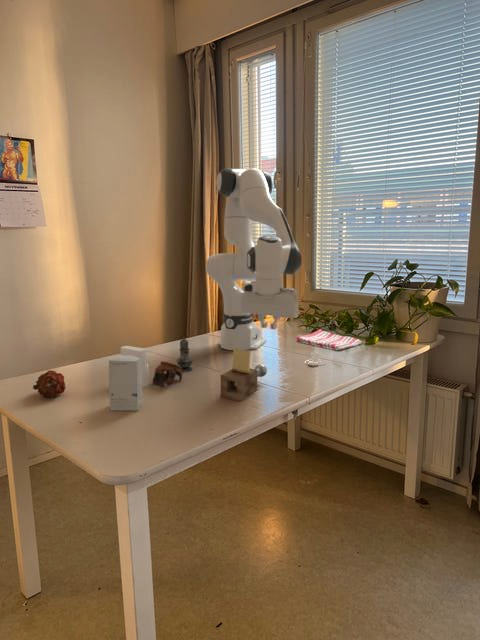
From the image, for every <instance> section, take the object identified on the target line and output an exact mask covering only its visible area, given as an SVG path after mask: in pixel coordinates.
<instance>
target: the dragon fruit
mask: <svg viewBox="0 0 480 640" xmlns="http://www.w3.org/2000/svg"><path fill="white" fill-rule="evenodd" d="M37 379H38V380H36V381H35V383H36V384H33V385H32V389H34V390H35V391H37V393H38V394H39V395H40V396H42V397H44V398H45V397H48V398H51V399H52V398H53V399H55V398H57V396H59V395H60V394H63V393H64V392H65V389H66V388H67V387H66V382H65V376H64V375H63V374H62V373H60V372H58V373H57V371H55V370H51V369H50V370H47V371H46V372H45V373H41V374H40V376H38V378H37Z"/></svg>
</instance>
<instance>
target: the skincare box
mask: <svg viewBox="0 0 480 640" xmlns="http://www.w3.org/2000/svg"><path fill="white" fill-rule="evenodd" d="M108 388H109V390H108V391H109V394H108V395H109V396H108V397H109V410H110V411H112V412H113V411H114V412H115V411H123V412H124V411H126V412H127V411H135V412H137V411H139V410H140V407H141V406H142V404H143V395H142V393H143V390H142V388H143V387H142V373H141V356H130V355H121V354H120V355H119V354H118V355H117V354H116V355H112V357H110V358H109V359H108Z"/></svg>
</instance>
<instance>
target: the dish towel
mask: <svg viewBox="0 0 480 640" xmlns="http://www.w3.org/2000/svg"><path fill="white" fill-rule="evenodd" d="M295 338H296V341H297V343H303V344H306V345H310V346H315V347H320V348H322V349H326V348H327V350H331V351H337V352H338V351H342V350H346V348H347V349H350V348H354V347H357V346H359V344H360V345H361V343H362V344H363V341H362V340H360V339H358V338H355V337H352V336H347V335H346V336H344V335H343V336H342V335H338V334H333V333H331V332H328V331H326V330H322V329H321V328H320V329H318V330H317V331H314V332H313V333H310V334H306V335H297V336H296V337H295Z"/></svg>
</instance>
